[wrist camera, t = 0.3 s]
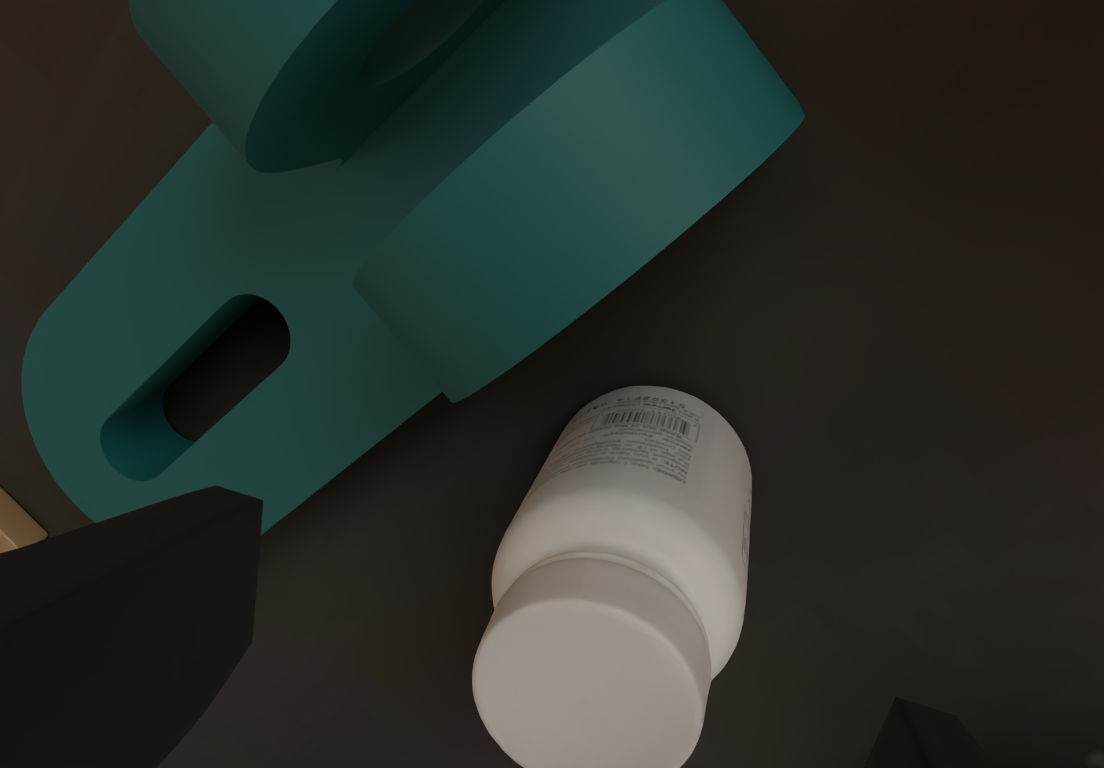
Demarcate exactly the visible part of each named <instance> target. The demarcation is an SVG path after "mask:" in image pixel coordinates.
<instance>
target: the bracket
mask: <svg viewBox="0 0 1104 768" xmlns="http://www.w3.org/2000/svg"><path fill="white" fill-rule="evenodd" d="M129 10H130V14H131V18H132V21H133V24H134V27H135V28H136V30H137V32H138V34H139V36H140V37H141V38H142V39H143V41H144V42H145V43H146V44H147V45H148V46H149V48H150V49H151V50H152V51H153V52H154V53H155V55H156V56H157V57H158V58H159V59H160V61H161V62H162V63H163V64H164V65H165V66H166V68H167V69H168V70H169V71H170V72H171V73H172V75H173V76H174V77H175V78H176V79H177V80H178V82H179V83H180V84H181V85H182V86H183V88H184V89H185V90H186V91H187V92H188V93H189V95H190V96H191V97H192V98H193V99H194V100H195V102H196V103H197V104H198V105H199V106H200V107H201V109H202V110H203V111H204V112H205V113H206V115H207V116H208V117H209V118H210V119H211V120H212V123H211V124H210V125H209V127H208V128H207V129H206V130H205V131H204V132H203V133H202V134H201V136H200V137H199V138H198V139H197V140H196V141H195V142H194V143H193V145H192V146H191V147H190V148H189V149H188V150H187V151H186V153H185V154H184V155H183V156H182V157H181V158H180V159H179V160H178V162H177V163H176V164H175V165H174V166H173V167H172V168H171V170H170V171H169V172H168V173H167V174H166V175H165V176H164V177H163V179H162V180H161V181H160V182H159V183H158V184H157V185H156V186H155V188H154V189H153V190H152V191H151V192H150V193H149V194H148V196H147V197H146V198H145V199H144V200H143V201H142V202H141V203H140V205H139V206H138V207H137V208H136V209H135V210H134V211H133V213H132V214H131V215H130V216H129V217H128V218H127V219H126V220H125V222H124V223H123V224H122V225H121V226H120V227H119V228H118V229H117V231H116V232H115V233H114V234H113V235H112V236H111V237H110V239H109V240H108V241H107V242H106V243H105V244H104V245H103V246H102V248H101V249H100V250H99V251H98V252H97V253H96V254H95V255H94V257H93V258H92V259H91V260H90V261H89V262H88V263H87V265H86V266H85V267H84V268H83V269H82V270H81V271H80V272H79V274H78V275H77V276H76V277H75V278H74V279H73V280H72V282H71V283H70V284H69V285H68V286H67V287H66V288H65V289H64V291H63V292H62V293H61V294H60V295H59V296H58V297H57V298H56V300H55V301H54V302H53V303H52V304H51V305H50V306H49V308H48V309H47V310H46V311H45V312H44V314H43V315H42V316H41V318H40V319H39V320H38V322H37V324H36V326H35V327H34V329H33V331H32V333H31V336H30V338H29V341H28V343H27V347H26V351H25V354H24V359H23V366H22V398H23V404H24V410H25V415H26V419H27V423H28V426H29V430H30V432H31V435H32V438H33V440H34V443H35V445H36V447H37V450H38V452H39V454H40V456H41V458H42V460H43V462H44V463H45V465H46V467H47V469H48V470H49V472H50V473H51V475H52V476H53V478H54V479H55V481H56V482H57V484H58V485H59V486H60V488H61V489H62V490H63V491H64V493H65V494H66V495H67V496H68V497H69V498H70V500H71V501H72V502H73V503H74V504H75V505H76V506H77V507H78V508H79V509H80V510H81V511H82V512H83V513H84V514H85V515H87V516H88V517H89V518H90V519H91V520H92V521H94V522H95V523H97V522H100V521H103V520H106V519H109V518H112V517H115V516H118V515H121V514H124V513H127V512H130V511H133V510H136V509H139V508H142V507H145V506H148V505H151V504H154V503H158V502H161V501H164V500H167V499H170V498H173V497H176V496H180V495H183V494H186V493H189V492H193V491H196V490H200V489H204V488H208V487H212V486H220V487H223V488H226V489H229V490H232V491H236V492H239V493H242V494H245V495H248V496H252V497H255V498H258V499H261V500H263V512H262V524H261V535H262V534H263V533H264V532H266V531H267V530H268V529H269V528H271V527H272V526H273V525H275V524H276V523H277V522H278V521H280V520H281V519H282V518H283V517H285V516H286V515H287V514H288V513H290V512H291V511H292V510H293V509H295V508H296V507H297V506H298V505H300V504H301V503H302V502H304V501H305V500H306V499H307V498H309V497H310V496H311V495H312V494H314V493H315V492H316V491H317V490H319V489H320V488H321V487H322V486H324V485H325V484H326V483H327V482H329V481H330V480H331V479H333V478H334V477H335V476H336V475H338V474H339V473H340V472H341V471H343V470H344V469H345V468H346V467H348V466H349V465H350V464H351V463H353V462H354V461H355V460H356V459H358V458H359V457H360V456H361V455H363V454H364V453H365V452H367V451H368V450H369V449H370V448H372V447H373V446H374V445H375V444H377V443H378V442H379V441H380V440H382V439H383V438H384V437H385V436H387V435H388V434H389V433H390V432H392V431H393V430H394V429H396V428H397V427H398V426H399V425H401V424H402V423H403V422H404V421H406V420H407V419H408V418H409V417H411V416H412V415H413V414H414V413H416V412H417V411H418V410H419V409H421V408H422V407H423V406H425V405H426V404H427V403H428V402H430V401H431V400H432V399H433V398H435V397H436V396H437V395H438V394H440V393H441V392H443V393H444V394H445V395H446V396H447V398H448V399H449V400H450V401H451V402H452V403H456V402H458V401H460V400H462V399H464V398H466V397H468V396H469V395H471V394H473V393H474V392H476V391H478V390H479V389H481V388H482V387H484V386H485V385H487V384H488V383H490V382H491V381H493V380H494V379H496V378H497V377H499V376H500V375H502V374H503V373H504V372H506V371H507V370H509V369H510V368H511V367H513V366H514V365H516V364H517V363H518V362H520V361H521V360H523V359H524V358H525V357H527V356H528V355H529V354H531V353H532V352H533V351H535V350H536V349H538V348H539V347H540V346H542V345H543V344H544V343H546V342H547V341H548V340H550V339H551V338H552V337H553V336H555V335H556V334H557V333H559V332H560V331H561V330H563V329H564V328H565V327H567V326H568V325H569V324H570V323H572V322H573V321H574V320H576V319H577V318H578V317H580V316H581V315H582V314H583V313H585V312H586V311H587V310H589V309H590V308H591V307H592V306H594V305H595V304H596V303H597V302H599V301H600V300H601V299H602V298H604V297H605V296H606V295H608V294H609V293H610V292H611V291H613V290H614V289H615V288H616V287H618V286H619V285H620V284H621V283H622V282H624V281H625V280H626V279H627V278H629V277H630V276H631V275H632V274H634V273H635V272H636V271H637V270H639V269H640V268H641V267H642V266H643V265H645V264H646V263H647V262H648V261H650V260H651V259H652V258H653V257H654V256H656V255H657V254H658V253H659V252H660V251H662V250H663V249H664V248H665V247H666V246H668V245H669V244H670V243H671V242H672V241H674V240H675V239H676V238H677V237H678V236H680V235H681V234H682V233H683V232H684V231H686V230H687V229H688V228H689V227H690V226H691V225H693V224H694V223H695V222H696V221H697V220H699V219H700V218H701V217H702V216H703V215H704V214H706V213H707V212H708V211H709V210H710V209H711V208H712V207H714V206H715V205H716V204H717V203H718V202H719V201H720V200H722V199H723V198H724V197H725V196H726V195H727V194H728V193H730V192H731V191H732V190H733V189H734V188H735V187H736V186H737V185H739V184H740V183H741V182H742V181H743V180H744V179H745V178H746V177H747V176H749V175H750V174H751V173H752V172H753V171H754V170H755V169H756V168H757V167H758V166H759V165H761V164H762V163H763V162H764V161H765V160H766V159H767V158H768V157H769V156H770V155H771V154H772V153H773V152H774V151H775V150H776V149H777V148H778V147H779V146H780V145H781V144H782V143H783V142H784V141H785V140H786V139H787V138H788V137H789V136H790V135H791V134H792V133H793V132H794V131H795V130H796V129H797V127H798V126H799V125H800V124H801V123H802V121H803V119H804V118H805V115H804V112H803V110H802V108H801V106H800V104H799V102H798V100H797V99H796V98H795V96H794V95H793V94H792V92H791V91H790V90H789V88H788V87H787V86H786V84H785V83H784V82H783V80H782V79H781V78H780V76H779V75H778V74H777V72H776V71H775V70H774V68H773V67H772V65H771V64H770V63H769V61H768V60H767V59H766V57H765V56H764V55H763V53H762V52H761V51H760V49H759V48H758V47H757V45H756V44H755V43H754V41H753V40H752V39H751V37H750V36H749V35H748V33H747V32H746V31H745V29H744V28H743V27H742V25H741V24H740V23H739V21H738V20H737V19H736V17H735V16H734V15H733V13H732V12H731V11H730V9H729V8H728V7H727V5H726V4H725V3H724V1H723V0H129ZM260 297H262V298H264V299H266V300H267V301H269V302H270V303H272V304H273V305H274V306H275V307H276V308H277V309H278V310H279V311H280V312H281V314H282V315H283V317H284V318H285V320H286V322H287V325H288V327H289V331H290V337H291V345H290V350H289V354H288V356H287V358H286V360H285V361H284V362H283V363H282V364H281V365H280V366H279V367H278V368H277V369H276V370H275V371H274V372H273V373H272V374H270V375H269V376H268V377H267V378H266V379H265V380H264V381H263V382H262V383H260V384H259V385H258V386H257V387H256V388H255V389H254V390H253V391H252V392H250V393H249V394H248V395H247V396H246V397H245V398H244V399H243V400H242V401H241V402H239V403H238V404H237V405H236V406H235V407H234V408H233V409H232V410H231V411H229V412H228V413H227V414H226V415H225V416H224V417H223V418H222V419H221V420H220V421H218V422H217V423H216V424H215V425H214V426H213V427H212V428H211V429H210V430H208V431H207V432H206V433H205V434H204V435H203V436H202V437H201V438H200V439H198V440H197V441H196V442H193V441H190V440H187V439H185V438H183V437H182V436H180V435H179V434H178V433H177V432H175V431H174V429H173V428H172V427H171V426H170V424H169V423H168V421H167V419H166V417H165V415H164V411H163V405H162V401H163V395H164V393H165V391H166V389H167V388H168V386H169V385H170V384H171V383H172V382H173V381H175V380H176V379H177V378H178V377H179V376H180V375H181V374H182V373H183V372H184V371H185V370H186V369H187V368H188V367H189V366H190V365H191V364H192V363H193V362H194V361H195V360H196V359H197V358H198V357H199V356H200V355H201V354H202V353H204V352H205V351H206V350H207V349H208V348H209V347H210V346H211V345H212V344H213V343H214V342H215V341H216V340H217V339H218V338H219V337H220V336H221V335H222V334H223V333H224V332H225V331H226V330H227V329H228V328H229V327H230V326H231V325H233V324H234V323H235V322H236V321H237V320H238V319H239V318H240V317H241V316H242V315H243V314H244V313H245V312H246V311H247V310H248V309H249V308H250V307H251V306H252V305H253V304H254V303H255V302H256V301H257V300H258V299H259V298H260Z"/></svg>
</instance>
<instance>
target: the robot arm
mask: <svg viewBox="0 0 1104 768" xmlns="http://www.w3.org/2000/svg"><path fill="white" fill-rule="evenodd" d="M262 512H263V500H261V499H258V498H255V497H252V496H248V495H245V494H242V493H239V492H236V491H232V490H229V489H226V488H223V487H220V486H212V487H208V488H204V489H200V490H196V491H193V492H189V493H186V494H183V495H180V496H176V497H173V498H170V499H167V500H164V501H161V502H158V503H154V504H151V505H148V506H145V507H142V508H139V509H136V510H133V511H130V512H127V513H124V514H121V515H118V516H115V517H112V518H109V519H106V520H103V521H100V522H97V523H94V524H91V525H88V526H85V527H82V528H79V529H76V530H73V531H70V532H67V533H64V534H61V535H58V536H55V537H52V538H49V539H46V540H43V541H40V542H36V543H33V544H30V545H27V546H24V547H20V548H17V549H14V550H10V551H7V552H3V553H0V768H157V767H158V766H159V764H160V763H161V762H162V761H163V760H164V759H165V758H166V756H167V755H168V754H169V753H170V752H171V751H172V750H173V748H174V747H175V746H176V745H177V744H178V743H179V742H180V740H181V739H182V738H183V737H184V736H185V735H186V734H187V732H188V731H189V730H190V729H191V728H192V727H193V725H194V724H195V723H196V722H197V721H198V720H199V718H200V717H201V716H202V715H203V713H204V712H205V710H206V709H207V708H208V706H209V705H210V703H211V702H212V701H213V699H214V698H215V696H216V695H217V694H218V692H219V691H220V689H221V688H222V686H223V685H224V684H225V682H226V681H227V679H228V678H229V676H230V675H231V673H232V672H233V670H234V669H235V667H236V666H237V664H238V663H239V661H240V659H241V658H242V656H243V655H244V653H245V652H246V650H247V649H248V647H249V646H250V644H251V643H252V635H253V623H254V610H255V598H256V586H257V574H258V561H259V549H260V537H261V524H262ZM864 768H994V767H993V765H992V764H991V763H990V761H989V760H988V758H987V757H986V756H985V754H984V753H983V751H982V750H981V749H980V747H979V746H978V744H977V743H976V742H975V740H974V739H973V738H972V736H971V735H970V734H969V732H968V731H967V730H966V728H965V727H964V726H963V724H962V723H961V722H960V720H959V719H958V718H957V717H956V716H955V715H952V714H949V713H945V712H942V711H939V710H936V709H932V708H929V707H926V706H923V705H920V704H916V703H913V702H910V701H907V700H904V699H900V698H897V697H895V700H894V702H893V704H892V706H891V709H890V711H889V713H888V715H887V718H886V720H885V722H884V724H883V727H882V729H881V731H880V733H879V736H878V738H877V740H876V743H875V745H874V747H873V749H872V752H871V754H870V756H869V758H868V761H867V763H866V765H865V767H864Z"/></svg>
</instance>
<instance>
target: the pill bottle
mask: <svg viewBox="0 0 1104 768" xmlns="http://www.w3.org/2000/svg"><path fill="white" fill-rule="evenodd" d="M751 501H752V476H751V469H750V463H749V460H748V456H747V454H746V451H745V448H744V446H743V444H742V442H741V440H740V439H739V437H738V436H737V434H736V432H735V431H734V429H733V428H732V427H731V426H730V425H729V423H728V422H727V421H726V420H725V419H724V418H723V417H722V416H721V415H720V414H719V413H718V412H717V411H715V410H714V409H713V408H711V407H710V406H709V405H707V404H706V403H704V402H703V401H701V400H700V399H698V398H696V397H694V396H692V395H689V394H687V393H684V392H681V391H678V390H675V389H670V388H666V387H658V386H629V387H625V388H621V389H617V390H614V391H612V392H609V393H607V394H605V395H602V396H600V397H598V398H597V399H595V400H593V401H592V402H590V403H588V404H587V405H586V406H584V407H583V408H582V409H581V410H580V411H579V412H578V413H577V414H576V415H575V416H574V417H573V418H572V419H571V420H570V421H569V423H568V424H567V426H566V427H565V429H564V431H563V432H562V434H561V435H560V437H559V439H558V441H557V442H556V444H555V445H554V447H553V449H552V451H551V453H550V454H549V456H548V458H547V460H546V461H545V464H544V465H543V467H542V468H541V470H540V472H539V474H538V476H537V478H536V479H535V481H534V483H533V484H532V486H531V488H530V490H529V491H528V493H527V495H526V497H525V498H524V500H523V502H522V504H521V506H520V507H519V509H518V511H517V513H516V514H515V516H514V518H513V520H512V522H511V523H510V525H509V526H508V528H507V530H506V532H505V535H504V537H503V539H502V541H501V543H500V546H499V548H498V550H497V554H496V557H495V561H494V565H493V571H492V597H493V605H494V612H493V615H492V617H491V619H490V622H489V624H488V626H487V628H486V630H485V632H484V634H483V637H482V639H481V642H480V644H479V647H478V649H477V652H476V655H475V659H474V663H473V671H472V688H473V695H474V701H475V703H476V705H477V709H478V712H479V715H480V717H481V719H482V721H483V723H484V725H485V727H486V729H487V730H488V732H489V734H490V735H491V736H492V737H493V739H494V740H495V741H496V742H497V743H498V744H499V746H500V747H501V748H502V750H503V751H504V752H505V753H506V754H507V755H508V756H509V757H511V758H512V759H513V760H514V761H515V762H517V763H518V764H519V765H521V766H522V767H524V768H680V767H681V766H682V765H683V764H684V763H685V761H686V760H687V759H688V758H689V757H690V755H691V753H692V752H693V750H694V748H695V746H696V744H697V742H698V739H699V736H700V734H701V730H702V726H703V721H704V716H705V709H706V703H707V697H708V692H709V688H710V684H711V680H712V679H713V678H714V677H715V676H716V675H717V674H718V673H719V672H720V671H721V670H722V669H723V667H724V666H725V665H726V663H727V662H728V660H729V658H730V657H731V655H732V653H733V651H734V649H735V647H736V645H737V642H738V639H739V636H740V633H741V629H742V624H743V619H744V610H745V603H746V589H747V573H748V557H749V536H750V519H751V506H752V505H751Z"/></svg>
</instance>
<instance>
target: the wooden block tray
mask: <svg viewBox="0 0 1104 768" xmlns="http://www.w3.org/2000/svg"><path fill="white" fill-rule="evenodd" d="M47 536H48V533H47V532H46V531H45V530H44V529H43V528H42V527H41V526H40V525H39V524H38V523H37V522H36V521H35V520H34V519H33V518H32V517H31V516H30V515H28V514H27V513H26V512H25V511H24V510H23V509H22V508H21V507H20V506H19V505H18V504H17V503H16V502H15V501H14V500H13V499H12V498H11V497H10V496H9V495H8V494H7V493H6V492H5V491H4V490H3V489H2V488H1V487H0V553H3V552H7V551H10V550H14V549H17V548H20V547H24V546H27V545H30V544H33V543H36V542H40V541H43V540H45V538H46V537H47Z"/></svg>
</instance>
